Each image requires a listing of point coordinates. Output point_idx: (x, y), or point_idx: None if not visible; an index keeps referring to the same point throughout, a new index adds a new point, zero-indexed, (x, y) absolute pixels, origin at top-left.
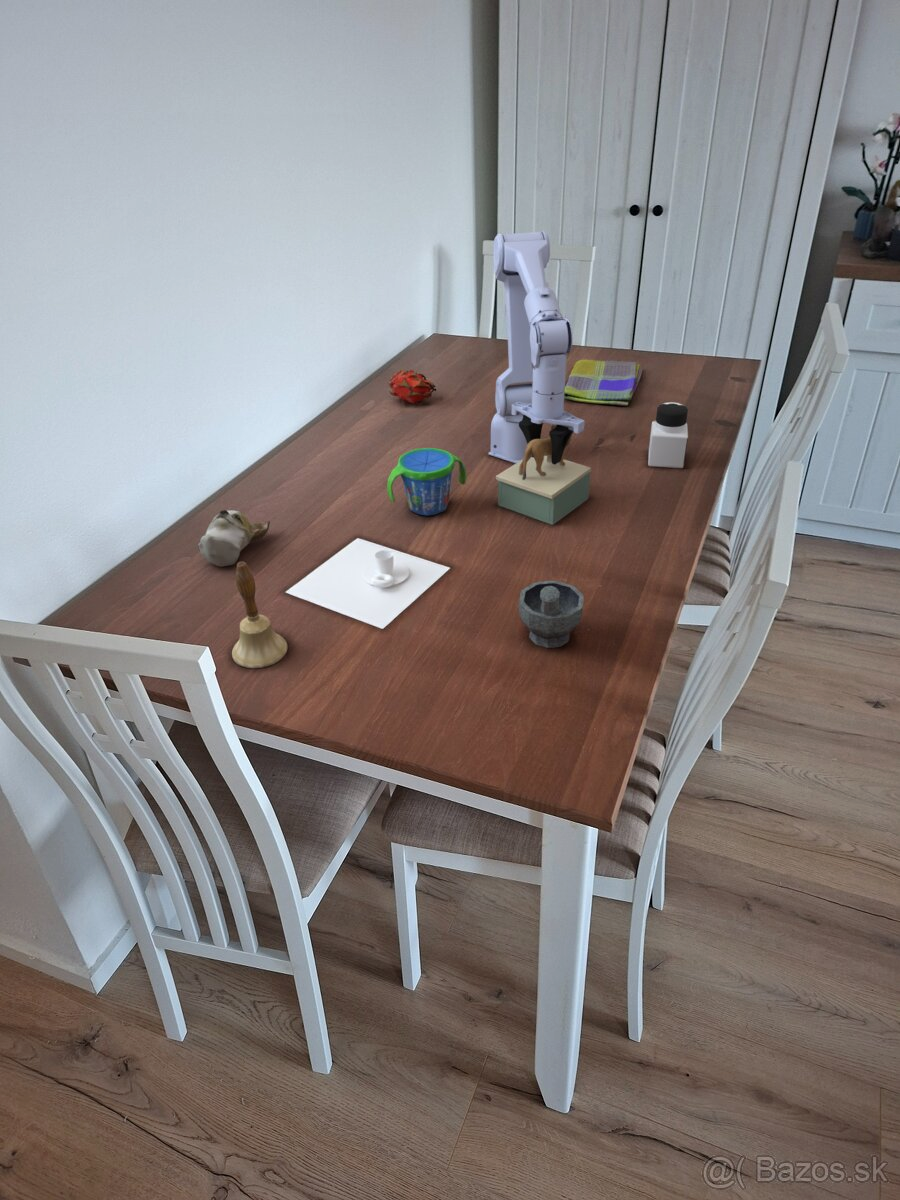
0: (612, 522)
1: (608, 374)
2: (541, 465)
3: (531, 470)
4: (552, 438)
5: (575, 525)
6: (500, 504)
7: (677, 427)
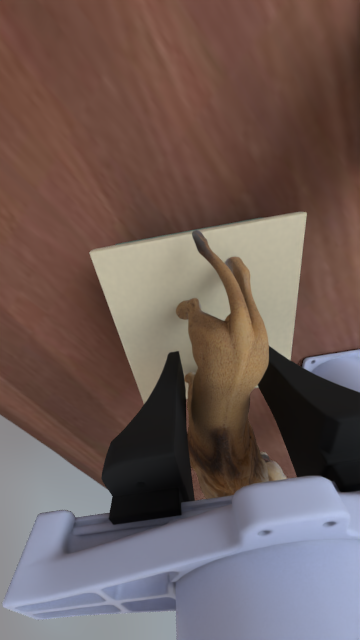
0: (59, 331)
1: None
2: (188, 319)
3: None
4: (163, 424)
5: (87, 277)
6: (256, 218)
7: None
